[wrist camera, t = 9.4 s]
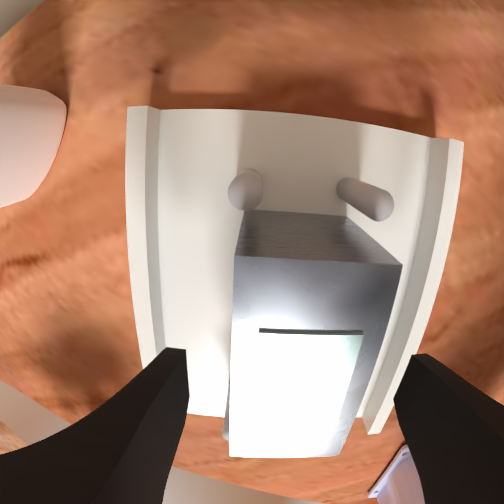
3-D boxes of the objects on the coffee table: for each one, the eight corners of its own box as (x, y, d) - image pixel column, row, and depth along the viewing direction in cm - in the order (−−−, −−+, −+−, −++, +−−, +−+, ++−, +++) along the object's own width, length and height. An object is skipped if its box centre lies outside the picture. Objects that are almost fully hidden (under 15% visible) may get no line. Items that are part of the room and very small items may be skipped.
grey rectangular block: (319, 370, 15) (338, 457, 10) (237, 368, 15) (229, 457, 10) (347, 216, 12) (404, 266, 7) (244, 208, 12) (234, 257, 7)
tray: (370, 407, 17) (388, 457, 13) (164, 400, 17) (147, 453, 13) (436, 140, 12) (494, 144, 8) (148, 112, 12) (102, 100, 8)
